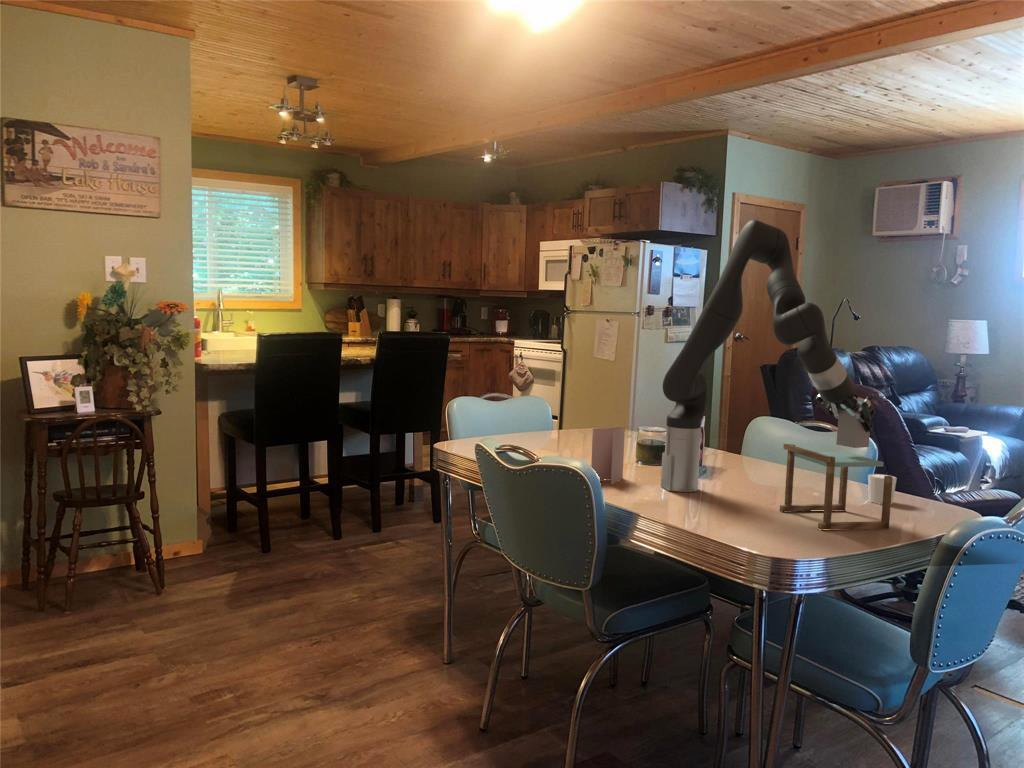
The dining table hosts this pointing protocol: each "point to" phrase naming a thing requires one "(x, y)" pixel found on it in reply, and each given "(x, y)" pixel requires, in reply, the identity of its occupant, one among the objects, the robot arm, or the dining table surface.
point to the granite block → (851, 431)
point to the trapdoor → (845, 460)
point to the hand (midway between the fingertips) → (858, 427)
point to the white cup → (878, 487)
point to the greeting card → (608, 453)
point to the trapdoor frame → (829, 493)
